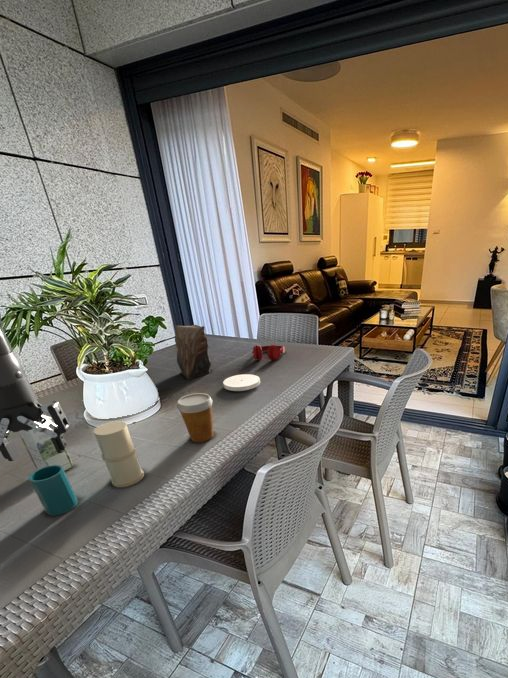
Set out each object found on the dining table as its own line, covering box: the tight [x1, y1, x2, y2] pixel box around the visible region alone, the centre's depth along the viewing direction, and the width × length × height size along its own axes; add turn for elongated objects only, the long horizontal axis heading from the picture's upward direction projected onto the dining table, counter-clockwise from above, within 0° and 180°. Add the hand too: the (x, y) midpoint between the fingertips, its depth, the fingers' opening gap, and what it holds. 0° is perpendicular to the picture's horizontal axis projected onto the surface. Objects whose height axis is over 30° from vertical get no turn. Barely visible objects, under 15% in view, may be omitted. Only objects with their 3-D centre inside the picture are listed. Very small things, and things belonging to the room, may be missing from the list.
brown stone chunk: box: [174, 324, 212, 380], centre depth 149 cm, size 13×13×20 cm
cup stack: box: [93, 420, 145, 488], centre depth 82 cm, size 7×7×14 cm
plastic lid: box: [222, 373, 261, 392], centre depth 136 cm, size 14×14×2 cm
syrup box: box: [17, 414, 74, 472], centre depth 86 cm, size 6×6×14 cm
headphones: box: [251, 344, 286, 361], centre depth 171 cm, size 15×7×20 cm
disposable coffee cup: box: [176, 392, 214, 443], centre depth 100 cm, size 10×10×12 cm
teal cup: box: [28, 465, 79, 517], centre depth 75 cm, size 6×6×9 cm
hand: (38, 455), depth 71 cm, fingers open, 8 cm apart
